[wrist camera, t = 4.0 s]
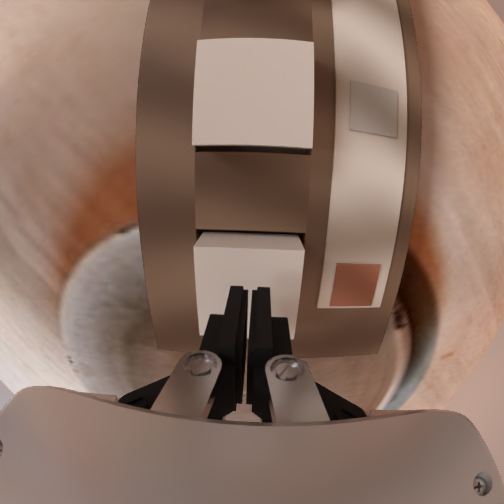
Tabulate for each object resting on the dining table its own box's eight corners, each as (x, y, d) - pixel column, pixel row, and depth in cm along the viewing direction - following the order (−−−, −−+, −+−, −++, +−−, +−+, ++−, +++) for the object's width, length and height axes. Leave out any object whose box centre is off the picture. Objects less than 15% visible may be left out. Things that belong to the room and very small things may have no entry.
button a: (289, 314, 16) (293, 339, 14) (207, 311, 16) (199, 335, 14) (298, 234, 14) (304, 250, 12) (203, 231, 14) (193, 246, 12)
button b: (303, 149, 13) (312, 148, 10) (203, 146, 13) (192, 145, 11) (305, 58, 11) (313, 42, 9) (207, 56, 11) (197, 40, 9)
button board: (365, 329, 19) (378, 356, 16) (169, 323, 20) (156, 351, 16) (378, -38, 9) (392, -58, 6) (180, -51, 9) (169, -74, 6)
